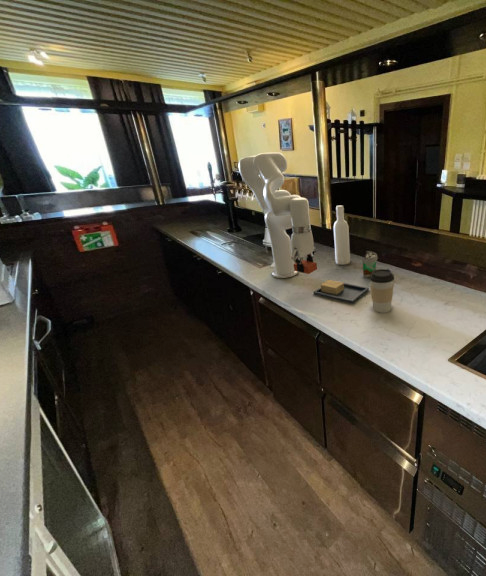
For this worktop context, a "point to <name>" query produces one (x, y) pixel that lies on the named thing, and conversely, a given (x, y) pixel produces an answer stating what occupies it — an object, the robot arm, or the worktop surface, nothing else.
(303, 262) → the pad
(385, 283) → the coffee cup
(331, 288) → the pad
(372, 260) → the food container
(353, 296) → the tray
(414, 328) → the worktop surface
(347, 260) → the bottle
